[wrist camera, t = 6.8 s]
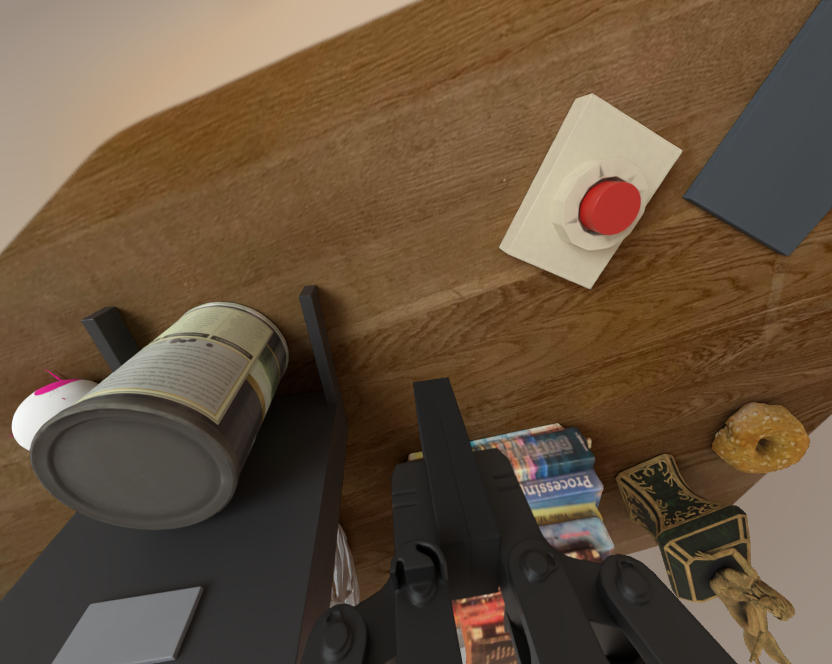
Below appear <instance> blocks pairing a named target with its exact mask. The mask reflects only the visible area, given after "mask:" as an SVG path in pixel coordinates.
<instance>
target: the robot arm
mask: <svg viewBox="0 0 832 664" xmlns="http://www.w3.org/2000/svg"><path fill="white" fill-rule="evenodd" d="M413 387H414V395H415V403H416V411H417V420H418V428H419V435H420V441H421V447H422V454H423V460H419V461H413V462H406V463H400V464H396V467H395V469H394V472H393V474H392V477H391V486H392V506H393V528H394V548H395V555H394V557H393V559H392V561H391V568H390V575H391V576H390V578H389V580H388V582H387V583H386V584H385V585H384V586H383V588H382V589H381V590H379V591H378V592H377V593H375V594H374V595H372V596H371V597H369V598H367V599H366V600H364V601H362V602H361V603H359V604H358V605H356V606H352V605H349V604H347V603H345V604H337V605H334V606H332V607H331V608H329V609H327V610H326V611H324V612H323V614H322V615H321V616H320V617H319V618H318V619H317V620H316V622H315V624H314V626H313V628H312V630H311V632H310V634H309V637H308V640H307V643H306V646H305V649H304V652H303V655H302V658H301V662H300V664H463V663H462V658H461V652H460V646H459V640H458V635H457V629H456V623H455V617H454V612H453V606H452V601H453V600H459V599H464V598H470V597H475V596H481V595H487V594H492V593H498V592H499V586H500V590H501V593H502V597H503V600H504V604H505V608H504V631H505V633H507V632H509V633H510V637H511V640H512V644H513V647H514V651H515V655H516V658H517V662H518V664H737V663H736V662H735V661H734V659H733V658H732V657H731V656H730V655H729V654H728V653H727V652H726V651H725V650H724V649H723V648H722V646H721V645H720V644H719V643H718V642H717V641H716V640H715V639H714V638H713V637H712V635H711V634H710V633H709V632H708V631H707V630H706V629H705V628H704V627H703V626H702V625H701V624H700V622H699V621H698V620H697V619H696V618H695V617H694V616H693V615H692V614H691V613H690V612H689V611H688V610H687V608H686V607H685V606H684V605H683V604H682V603H681V602H680V601H679V600H678V598H677V597H676V596H675V595H674V594H673V593H672V592H671V591H670V590H669V589H668V588H667V586H666V585H665V584H664V583H663V582H662V581H661V580H660V579H659V578H658V577H657V576H656V574H655V573H654V572H653V571H651V570H650V569H649V568H648V567H647V566H646V565H644V564H643V563H642V562H640V561H638V560H636V559H634V558H632V557H630V556H626V555H621V554H616V555H612V556H608V557H607V558H606V559H605V560H604V561H603V562H602V563H598V562H593V561H587V560H582V559H577V558H573V557H570V556H567V555H565V554H563V553H561V552H559V551H558V550H556V549H555V548H554V547H553V546H551V545H550V543H549V542H548V541H547V540H546V539H545V538H544V536H543V534H542V532H541V531H540V528H539V526H538V524H537V522H536V519H535V517H534V515H533V513H532V510H531V508H530V506H529V504H528V502H527V499H526V497H525V495H524V493H523V490H522V488H521V487H520V484H519V481H518V479H517V477H516V475H515V472H514V470H513V468H512V466H511V463H510V461H509V459H508V458H507V457H506V456H505V455H504V454H503V453H502V452H501V451H500V450H499V449H498V448H491V449H484V450H478V451H473V449H472V446H471V443H470V440H469V437H468V434H467V431H466V428H465V425H464V422H463V419H462V416H461V413H460V410H459V407H458V405H457V402H456V399H455V396H454V393H453V390H452V387H451V384H450V381H449V378H441V379H433V380H426V381H419V382H413Z"/></svg>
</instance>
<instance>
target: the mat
mask: <svg viewBox="0 0 832 664" xmlns="http://www.w3.org/2000/svg"><path fill="white" fill-rule="evenodd" d="M683 198H684V199H686V200H687V201H689V202H691V203H693V204H694V205H696V206H698V207H699V208H701V209H703V210H705V211H706V212H708V213H710V214H711V215H713V216H715V217H717V218H718V219H720V220H722V221H724V222H725V223H727V224H729V225H730V226H732V227H734V228H736V229H737V230H739V231H741V232H742V233H744V234H746V235H748V236H749V237H751V238H753V239H754V240H756V241H758V242H760V243H761V244H763V245H765V246H767V247H768V248H770V249H772V250H773V251H775V252H777V253H779V254H781V255H785V256H789V255H790V254H791V253H792V252H793V251H794V249H795V248H796V247H797V246H798V245H799V244H800V243H801V242H802V240H803V239H804V238H805V237H806V236H807V235H808V234H809V233H810V232H811V230H812V229H813V228H814V227H815V226H816V225H817V224H818V223H819V221H820V220H821V219H822V218H823V217H824V216H825V215H826V214H827V213H828V211H829V210H830V209H831V208H832V0H821V2H820V3H819V5H818V6H817V7H816V9H815V10H814V12H813V13H812V15H811V16H810V17H809V19H808V20H807V22H806V23H805V24H804V26H803V27H802V29H801V30H800V32H799V33H798V34H797V36H796V37H795V39H794V40H793V41H792V43H791V44H790V46H789V47H788V49H787V50H786V51H785V53H784V54H783V56H782V57H781V59H780V60H779V61H778V63H777V64H776V66H775V67H774V68H773V70H772V71H771V73H770V74H769V76H768V77H767V78H766V80H765V81H764V83H763V84H762V85H761V87H760V88H759V90H758V91H757V93H756V94H755V95H754V97H753V98H752V100H751V101H750V102H749V104H748V105H747V107H746V108H745V110H744V111H743V112H742V114H741V115H740V117H739V118H738V120H737V121H736V122H735V124H734V125H733V127H732V128H731V129H730V131H729V132H728V134H727V135H726V137H725V138H724V139H723V141H722V142H721V144H720V145H719V146H718V148H717V149H716V151H715V152H714V154H713V155H712V156H711V158H710V159H709V161H708V162H707V163H706V165H705V166H704V168H703V169H702V171H701V172H700V173H699V175H698V176H697V178H696V179H695V181H694V182H693V183H692V185H691V186H690V188H689V189H688V190H687V192H686V193H685V195H684V196H683Z"/></svg>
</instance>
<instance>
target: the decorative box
mask: <svg viewBox="0 0 832 664" xmlns="http://www.w3.org/2000/svg"><path fill="white" fill-rule="evenodd" d="M616 481H617V484H618V487H619V490H620V493H621V495H622V498H623V501H624V504H625V506H626V509H627V512H628V515H629V518H630V520H631V521H632V522H634V523H635V524H637V525H638V526H640V527H641V528H643V529H644V530H645V531H647V532H648V533H649V534H650V535H651V536H652V537H653V538H654V540H655V541H656V542H657V544H658V545H659V548H660V551H661V555H662V558H663V561H664V565H665V568H666V571H667V574H668V577H669V581H670V584H671V587H672V590H673V591H674V593H675V594H676V596H677V597H678V598H681V599H685V600H688V601H692V602H697V603H698V602H700V603H702V602H705V601H708V600H711V599H714V598H716V597H719V598H720V600H721V601H722V602H723V603H724V604H725V606H726V607H727V609H728V610H729V612H730V614H731V615H732V617H733V618H734V619H735V620H736V622H737V623H738V624H739V625H740V626H741V627H742V628H743V629H744V634H743V635H744V640H745V644H746V646H747V648H748V650H749V652H750V653H751V657H750V660H749V661H750V662H752V660H754V661H755V662H756V664H760V662H759V659H758V657H759V656H760V655H761V650H762V649H763V648H764V650H765V652H766V653H767V654H768V655H769V656H770V657H771V658H772V659H773V660H775V661H777V662H778V663H779V664H791V663H790V662H789V661H788V659H787V658H786V657H785V656H784V654H783V653H782V651H781V650H780V648H779V646H778V644H777V642H776V640H775V639H774V637H773V636H772V635H771V633H770V632H769V631H768V622H767V617H766V616H767V610H768V611H769V612H771V613H772V614H774V615H775V617H776V618H778V619H779V620H781V621H782V620H783V621H787V620H788V619H790V617H793V616H794V615H795V610H794V608H793V606H792V604H791V603H790V602H789V601H788V600H787V599H785V597H783V596H782V595H781V594H780V593H778V592H777V591H775V590H774V589H772V588H771V587H770V586H768V585H767V584H766V583H764V582H763V581H761V579H760V577H759V576H758V574H757V572H756V570H755V569H753V568H752V567H751V552H750V536H749V529H748V520H747V515H746V513H745V512H744V511H743V510H741V509H740V508H739V507H737V506H734V505H730V504H724V503H719V502H714V501H710V500H707V499H705V498H703V497H701V496H700V495H698V494H697V493H696V492H694V491H693V490H692V489H691V488H690V487H689V486H688V485H687V483H686V482H685V481H684V479H683V478H682V476H681V474H680V472H679V469H678V467H677V465H676V462H675V460H674V457H673V456H672V455H671V454H663V455H660V456H658V457H655V458H653V459H651V460H648V461H646V462H644V463H641V464H639V465H637V466H634V467H632V468H630V469H627V470H625V471H623V472H620V473H619V474H618V476H617V477H616Z"/></svg>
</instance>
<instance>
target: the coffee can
mask: <svg viewBox="0 0 832 664" xmlns="http://www.w3.org/2000/svg"><path fill="white" fill-rule="evenodd" d="M288 360H289V353H288V347H287V344H286V341H285V339H284V337H283V335H282V334H281V332H280V331H279V329H278V328H277V327H276V326H275V324H274V323H273V322H271V321H270V320H269V319H268V318H267V317H265V316H264V315H262V314H261V313H259V312H257V311H255V310H253V309H251V308H248V307H246V306H243V305H239V304H236V303H229V302H213V303H207V304H203V305H200V306H197V307H195V308H193V309H191V310H189V311H188V312H186V313H185V314H184V315H183V316H182V317H181V318H180V319H179V320H178V321H177V322H176V323H175V324H173V325H172V326H171V327H170V328H168V329H167V330H166V331H165V332H163V333H162V334H161V335H160V336H158V337H157V338H156V339H155V340H153V341H152V342H151V343H150V344H148V345H147V346H146V347H144V348H143V349H142V350H141V351H140V352H138V353H137V354H136V355H134V356H133V357H132V358H131V359H129V360H128V361H127V362H126V363H125V364H123V365H122V366H121V367H120V368H118V369H117V370H116V371H115V372H113V373H112V374H111V375H110V376H108V377H107V378H106V379H105V380H103V381H102V382H101V383H100V384H98V385H97V386H96V387H95V388H93V389H92V390H91V391H90V392H88V393H87V394H86V395H85V396H83V397H82V398H81V399H80V400H78V401H77V402H76V403H75V404H73V405H72V406H70V407H68V408H66V409H64V410H62V411H60V412H59V413H58V414H56V415H55V416H54V417H52V418H51V419H49V420H48V421H47V422H45V423H44V424H43V425H42V426H41V427H40V429H39V430H38V431H37V433H36V434H35V436H34V438H33V440H32V442H31V446H30V461H31V464H32V468H33V470H34V472H35V474H36V476H37V478H38V479H39V481H40V482H41V483H42V485H43V486H44V487H45V489H46V490H47V491H48V492H49V493H50V494H52V495H53V496H54V497H55V498H57V499H58V500H59V501H60V502H62V503H63V504H65V505H66V506H68V507H70V508H71V509H73V510H75V511H77V512H79V513H81V514H83V515H86V516H88V517H90V518H93V519H96V520H98V521H102V522H105V523H108V524H112V525H116V526H121V527H128V528H135V529H150V530H162V529H175V528H181V527H187V526H190V525H194V524H197V523H200V522H202V521H204V520H206V519H209V518H211V517H212V516H214V515H215V514H217V513H219V512H220V511H221V510H222V509H223V508H224V507H225V506H226V505H227V504H228V503H229V502H230V500H231V499H232V497H233V495H234V492H235V490H236V487H237V485H238V481H239V476H240V473H241V471H242V469H243V466H244V464H245V462H246V459H247V457H248V455H249V452H250V450H251V448H252V445H253V443H254V441H255V438H256V436H257V434H258V431H259V429H260V426H261V424H262V422H263V420H264V417H265V415H266V413H267V410H268V408H269V406H270V403H271V401H272V399H273V397H274V394H275V392H276V390H277V387H278V385H279V382H280V380H281V378H282V376H283V375H284V373H285V371H286V369H287V365H288Z"/></svg>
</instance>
